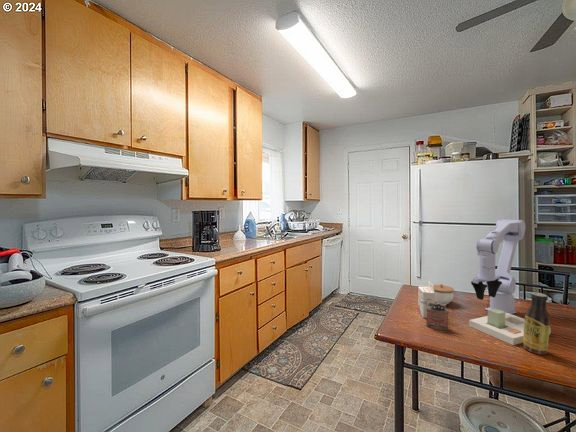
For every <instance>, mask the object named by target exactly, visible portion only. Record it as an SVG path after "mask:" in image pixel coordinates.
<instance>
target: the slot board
mask: <svg viewBox="0 0 576 432" xmlns="http://www.w3.org/2000/svg"><path fill="white" fill-rule="evenodd" d="M487 321H488V315H485V316H481V317H477V318H472V319H469V320H468V326H469V327H471V328H472V329H475V330H478V331H479V332H482V333H484V334H486V335H489V336H491V337H493V338H495V339H498V340H501V341H502V342H505V343H507V344H510V345H512V346H516V345H520V344H523V336H524V323H525V318H523V317H520V316H517V315H514V314H509V313H505V328H503V329H499V328H496V327H494V326H491V325H489V324H487ZM551 330H552V329H551V327H550V330H549V336H550V335H551Z"/></svg>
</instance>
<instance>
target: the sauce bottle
mask: <svg viewBox="0 0 576 432" xmlns="http://www.w3.org/2000/svg"><path fill="white" fill-rule="evenodd" d="M530 297H531V302H530V306H529V307H528V309H527V311H526V313H525V315H524V319H525V323H524V336H523V343H522V344H523V345H522V346H523V348H524V349H525V350H527V351H528V352H530V353H532V354H536V355H541V356H542V355H546V354H547V353H548V350H549V339H550V335H549V330H550V328H551V327H550V326H551V324H550V323H551V316H550V314H549V312H548V310H547V301H548V295H547V294H544V293H541V292H535V291H533V292H531V294H530Z"/></svg>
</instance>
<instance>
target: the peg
mask: <svg viewBox="0 0 576 432" xmlns="http://www.w3.org/2000/svg"><path fill="white" fill-rule="evenodd" d="M505 313H506V312H504V311H501V310H498V309H495V308H494V309H489V310H487V316H488V321H487V324H489V325H491V326H494V327H496V328H499V329H503V328H505Z"/></svg>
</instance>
